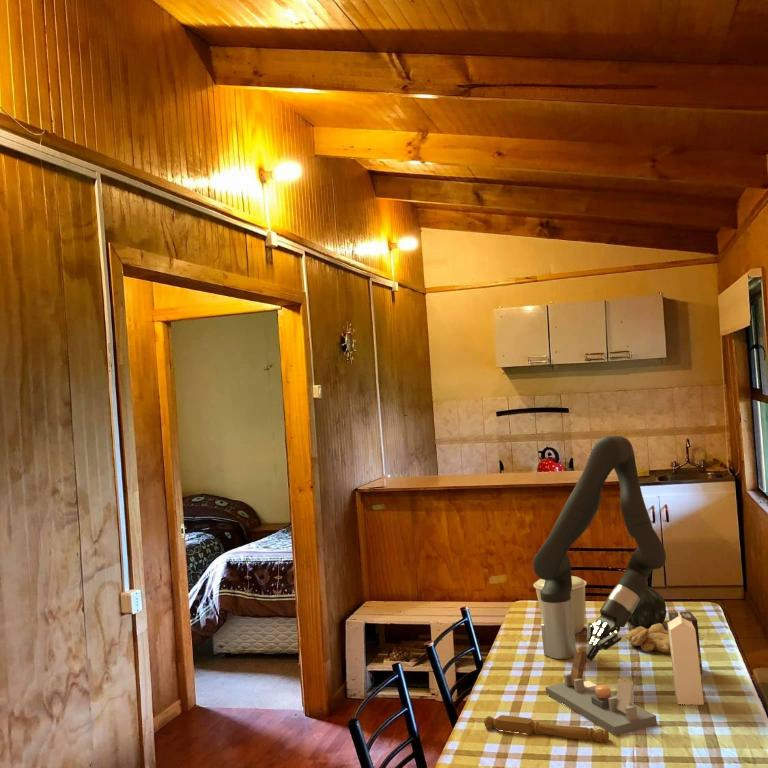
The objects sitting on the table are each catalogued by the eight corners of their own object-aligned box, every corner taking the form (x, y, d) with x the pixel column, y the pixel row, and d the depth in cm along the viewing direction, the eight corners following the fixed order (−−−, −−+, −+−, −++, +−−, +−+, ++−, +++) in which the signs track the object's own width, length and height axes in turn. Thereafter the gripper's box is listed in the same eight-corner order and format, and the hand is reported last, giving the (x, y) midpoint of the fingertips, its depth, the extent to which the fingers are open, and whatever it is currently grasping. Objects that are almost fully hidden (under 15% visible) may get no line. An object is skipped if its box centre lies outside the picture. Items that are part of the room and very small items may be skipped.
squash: (638, 599, 264) (621, 574, 258) (678, 606, 253) (662, 580, 246) (625, 633, 257) (607, 608, 250) (666, 642, 246) (649, 616, 239)
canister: (550, 621, 266) (544, 563, 267) (599, 626, 255) (592, 565, 256) (529, 636, 251) (523, 574, 252) (580, 641, 240) (573, 577, 241)
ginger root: (626, 634, 239) (629, 611, 238) (677, 648, 232) (681, 624, 232) (618, 652, 225) (622, 627, 224) (673, 667, 218) (677, 642, 218)
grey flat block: (618, 707, 180) (621, 678, 181) (631, 714, 175) (634, 684, 176) (615, 707, 180) (618, 678, 181) (628, 714, 175) (631, 684, 176)
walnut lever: (575, 684, 199) (583, 644, 200) (582, 687, 196) (589, 647, 197) (567, 682, 198) (575, 642, 199) (573, 686, 195) (581, 645, 197)
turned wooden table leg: (605, 732, 167) (482, 718, 181) (607, 746, 167) (483, 730, 181) (608, 727, 170) (486, 713, 184) (609, 740, 170) (487, 725, 184)
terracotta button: (605, 691, 187) (604, 683, 187) (613, 696, 183) (612, 688, 184) (593, 694, 186) (592, 686, 186) (601, 699, 182) (600, 691, 182)
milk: (678, 705, 185) (668, 617, 186) (675, 695, 191) (665, 610, 192) (704, 705, 183) (693, 616, 184) (700, 695, 189) (690, 609, 190)
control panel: (583, 685, 203) (581, 666, 204) (656, 724, 175) (654, 702, 175) (546, 694, 199) (544, 675, 199) (615, 735, 171) (612, 714, 171)
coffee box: (704, 679, 199) (697, 619, 200) (679, 680, 201) (673, 620, 201) (697, 667, 208) (690, 610, 209) (673, 668, 210) (667, 611, 210)
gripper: (596, 592, 209) (564, 644, 204) (626, 602, 196) (592, 657, 192) (614, 608, 210) (582, 659, 206) (644, 618, 198) (611, 673, 193)
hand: (587, 658), depth 199 cm, fingers closed
